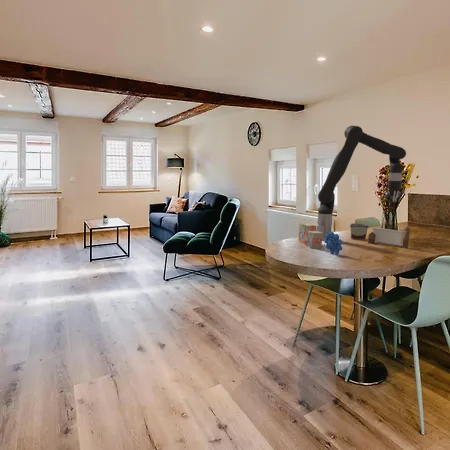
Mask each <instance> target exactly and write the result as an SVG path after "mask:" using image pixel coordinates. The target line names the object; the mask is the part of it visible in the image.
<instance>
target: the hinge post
mask: <svg viewBox="0 0 450 450" xmlns="http://www.w3.org/2000/svg"><path fill="white" fill-rule="evenodd" d="M403 230H404V232H403V236H402V246H403V247H401V248H403V249H409V242H410V232H411V228H410V227H409V226H405V227H404V229H403Z"/></svg>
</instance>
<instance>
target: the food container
mask: <svg viewBox="0 0 450 450" xmlns="http://www.w3.org/2000/svg"><path fill="white" fill-rule="evenodd" d="M369 227H370V226H369V224H366V223H350V225H349V228H350V239H351V240H366V239H367V233H368V229H369Z"/></svg>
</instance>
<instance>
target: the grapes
mask: <svg viewBox="0 0 450 450" xmlns="http://www.w3.org/2000/svg"><path fill="white" fill-rule="evenodd" d="M323 241H324V242H323V243H325V248H326V249H327V250H329V253H331V254H333V255H334V254H335V255H338V254H340V252H342V250H343V246H342V245H343V240H342V239H341V238H340V235H339V234H338V233H335V232H333V231H331V232H330V234H329V233H327V234H326V238H325V239H324V240H323Z"/></svg>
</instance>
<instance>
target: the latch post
mask: <svg viewBox="0 0 450 450" xmlns="http://www.w3.org/2000/svg"><path fill="white" fill-rule="evenodd" d="M373 233H374V232H373V231H371V232H370V233H368V240H367V244H371V245H373V243H374V244H375V242H376V241H375V234H373Z"/></svg>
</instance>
